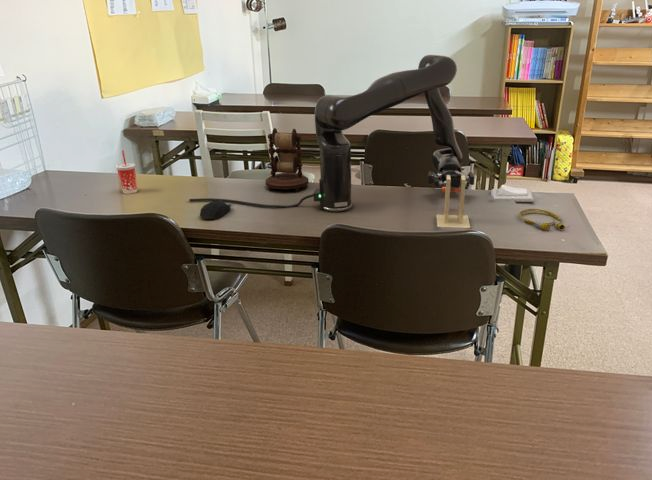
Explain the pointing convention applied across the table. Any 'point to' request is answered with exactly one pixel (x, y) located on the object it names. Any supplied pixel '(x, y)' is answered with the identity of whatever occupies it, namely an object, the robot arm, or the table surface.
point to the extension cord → (541, 224)
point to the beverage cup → (127, 176)
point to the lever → (453, 186)
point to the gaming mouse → (214, 210)
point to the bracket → (459, 219)
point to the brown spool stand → (285, 161)
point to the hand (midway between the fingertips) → (451, 184)
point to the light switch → (512, 194)
